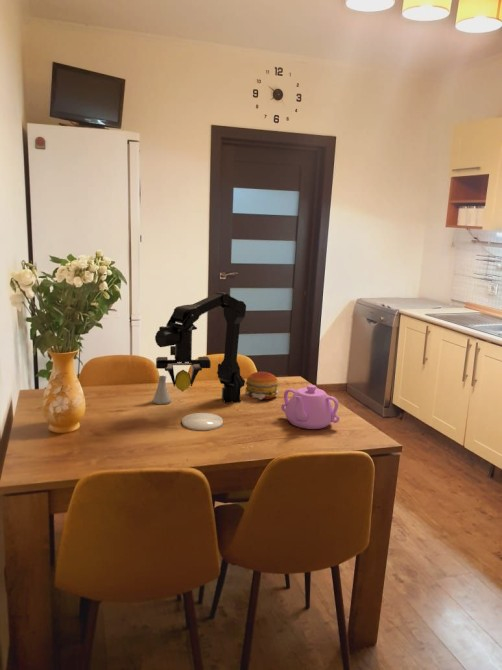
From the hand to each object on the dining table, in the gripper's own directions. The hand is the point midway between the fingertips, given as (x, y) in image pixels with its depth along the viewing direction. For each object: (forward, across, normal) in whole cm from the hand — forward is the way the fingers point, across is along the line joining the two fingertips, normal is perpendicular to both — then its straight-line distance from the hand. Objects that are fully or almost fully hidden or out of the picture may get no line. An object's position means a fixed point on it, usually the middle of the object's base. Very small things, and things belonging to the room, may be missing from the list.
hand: (182, 386), depth 186 cm
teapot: (+11, -43, +12) cm, 46 cm away
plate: (+11, -6, +8) cm, 15 cm away
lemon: (+2, 0, 0) cm, 2 cm away
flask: (+11, +7, -15) cm, 20 cm away
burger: (+11, -33, -20) cm, 40 cm away
